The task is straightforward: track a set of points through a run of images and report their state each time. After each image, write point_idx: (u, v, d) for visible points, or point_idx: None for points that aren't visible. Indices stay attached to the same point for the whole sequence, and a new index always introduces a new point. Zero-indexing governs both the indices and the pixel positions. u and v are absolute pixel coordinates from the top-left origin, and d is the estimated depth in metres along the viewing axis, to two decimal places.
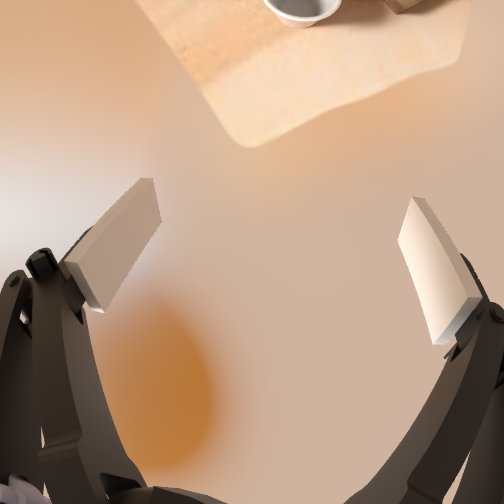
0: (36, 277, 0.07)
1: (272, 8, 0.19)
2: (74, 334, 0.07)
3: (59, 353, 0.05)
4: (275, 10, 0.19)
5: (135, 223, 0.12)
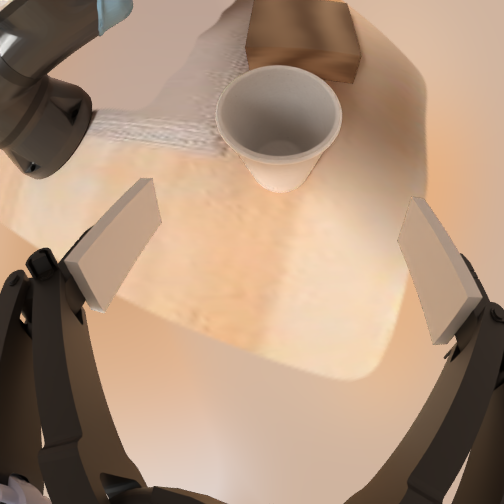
0: (36, 277, 0.07)
1: (274, 161, 0.15)
2: (74, 334, 0.07)
3: (59, 353, 0.05)
4: (280, 160, 0.15)
5: (135, 223, 0.12)
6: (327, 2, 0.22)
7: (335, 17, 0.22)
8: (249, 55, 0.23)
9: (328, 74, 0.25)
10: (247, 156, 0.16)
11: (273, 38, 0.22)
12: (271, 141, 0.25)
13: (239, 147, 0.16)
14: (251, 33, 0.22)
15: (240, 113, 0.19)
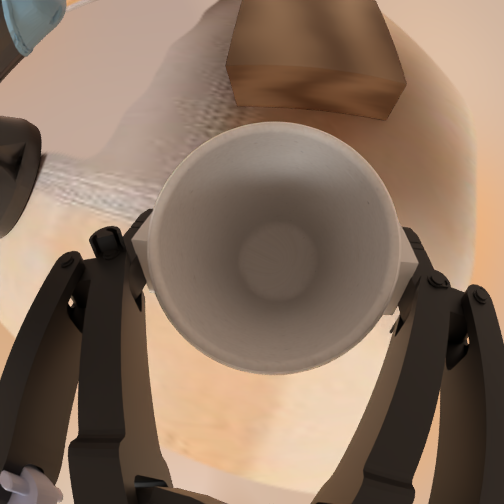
0: (98, 254, 0.08)
1: (258, 371, 0.08)
2: (132, 322, 0.07)
3: (114, 342, 0.06)
4: (271, 372, 0.08)
5: None
6: None
7: (363, 19, 0.14)
8: (233, 77, 0.16)
9: (352, 106, 0.17)
10: (208, 356, 0.08)
11: (271, 50, 0.14)
12: (265, 224, 0.18)
13: (192, 338, 0.08)
14: (236, 42, 0.15)
15: (206, 213, 0.12)
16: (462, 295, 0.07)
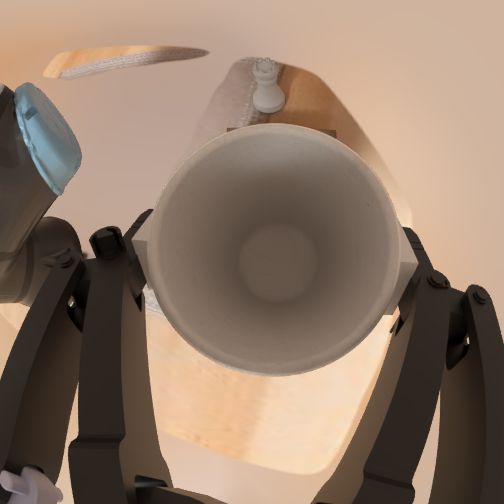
0: (98, 254, 0.08)
1: (258, 373, 0.08)
2: (132, 322, 0.07)
3: (114, 342, 0.06)
4: (271, 373, 0.08)
5: None
6: None
7: None
8: None
9: None
10: (208, 357, 0.08)
11: None
12: (265, 225, 0.18)
13: (192, 340, 0.08)
14: None
15: (206, 214, 0.12)
16: (462, 295, 0.07)
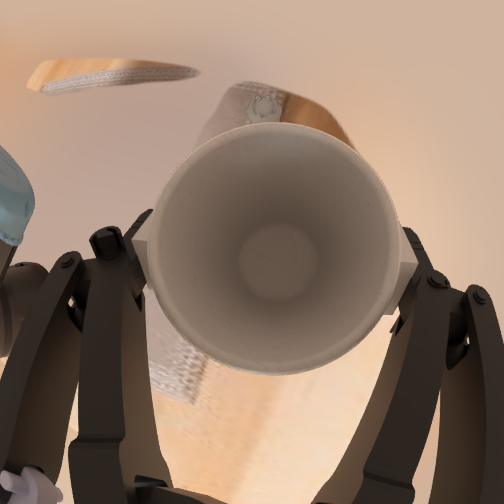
0: (98, 254, 0.08)
1: (258, 372, 0.08)
2: (132, 322, 0.07)
3: (114, 342, 0.06)
4: (271, 372, 0.08)
5: None
6: None
7: None
8: None
9: None
10: (208, 356, 0.08)
11: None
12: (265, 224, 0.18)
13: (191, 339, 0.08)
14: None
15: (206, 213, 0.12)
16: (462, 295, 0.07)
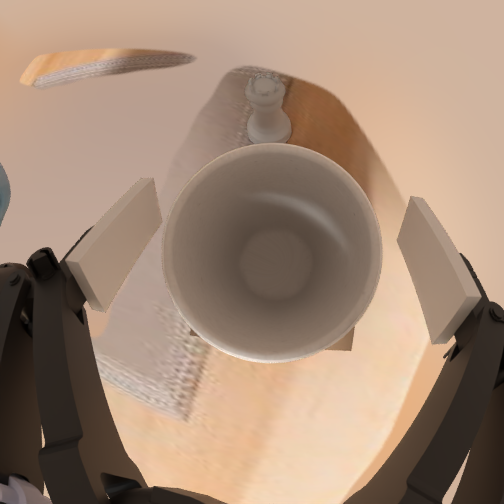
0: (37, 277, 0.07)
1: (258, 360, 0.09)
2: (75, 334, 0.07)
3: (60, 353, 0.05)
4: (269, 360, 0.09)
5: (136, 223, 0.12)
6: None
7: None
8: None
9: None
10: (215, 347, 0.10)
11: None
12: (264, 229, 0.19)
13: (201, 332, 0.10)
14: None
15: (211, 221, 0.13)
16: None
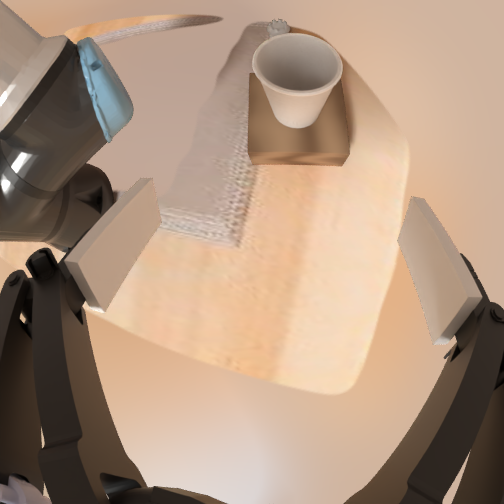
0: (36, 277, 0.07)
1: (299, 93, 0.20)
2: (74, 334, 0.07)
3: (59, 353, 0.05)
4: (304, 93, 0.20)
5: (135, 223, 0.12)
6: None
7: (328, 100, 0.29)
8: (251, 155, 0.32)
9: (320, 162, 0.33)
10: (280, 91, 0.20)
11: (272, 139, 0.30)
12: None
13: (274, 86, 0.20)
14: (251, 132, 0.31)
15: (266, 68, 0.23)
16: None
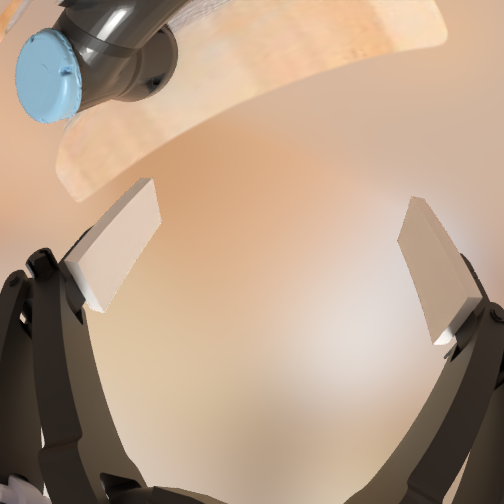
0: (36, 277, 0.07)
1: None
2: (74, 334, 0.07)
3: (59, 353, 0.05)
4: None
5: (135, 223, 0.12)
6: None
7: None
8: None
9: None
10: None
11: None
12: None
13: None
14: None
15: None
16: None
